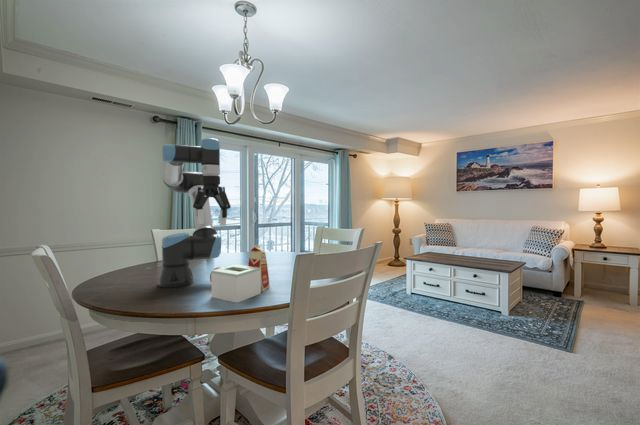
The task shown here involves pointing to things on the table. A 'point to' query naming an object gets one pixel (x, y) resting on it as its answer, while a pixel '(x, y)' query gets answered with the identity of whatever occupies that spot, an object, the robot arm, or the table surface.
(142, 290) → the table surface
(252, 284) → the coin box
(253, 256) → the milk carton
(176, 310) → the table surface
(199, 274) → the table surface
